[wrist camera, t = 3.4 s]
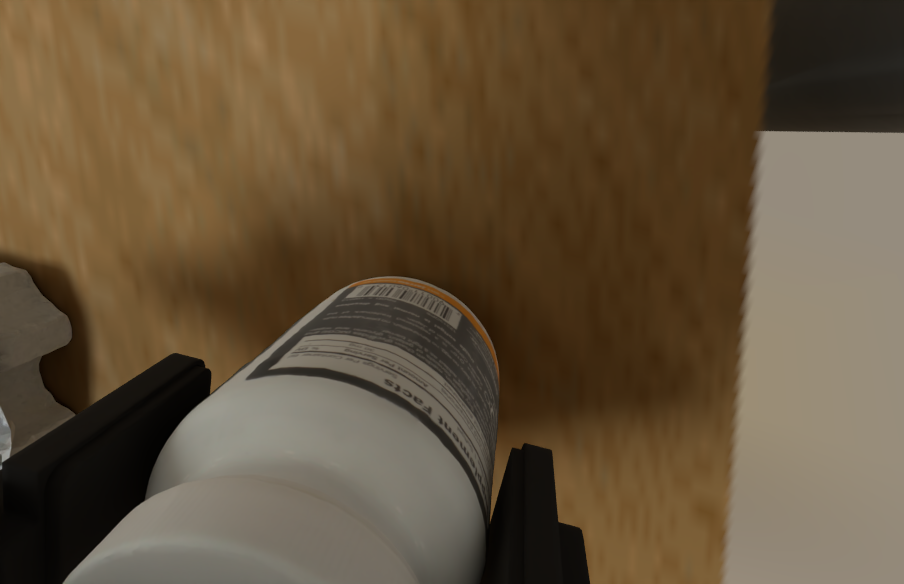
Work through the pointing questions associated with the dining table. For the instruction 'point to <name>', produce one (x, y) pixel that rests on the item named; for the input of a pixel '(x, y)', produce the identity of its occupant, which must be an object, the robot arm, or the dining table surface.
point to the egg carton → (27, 361)
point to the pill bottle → (329, 456)
